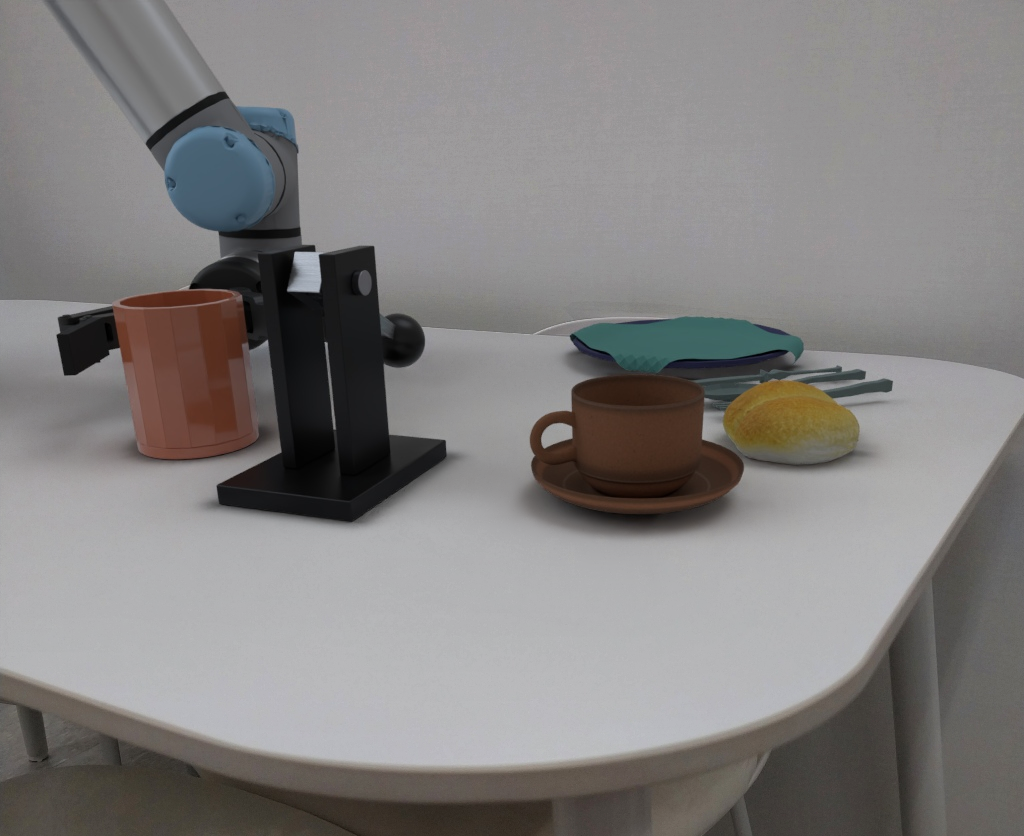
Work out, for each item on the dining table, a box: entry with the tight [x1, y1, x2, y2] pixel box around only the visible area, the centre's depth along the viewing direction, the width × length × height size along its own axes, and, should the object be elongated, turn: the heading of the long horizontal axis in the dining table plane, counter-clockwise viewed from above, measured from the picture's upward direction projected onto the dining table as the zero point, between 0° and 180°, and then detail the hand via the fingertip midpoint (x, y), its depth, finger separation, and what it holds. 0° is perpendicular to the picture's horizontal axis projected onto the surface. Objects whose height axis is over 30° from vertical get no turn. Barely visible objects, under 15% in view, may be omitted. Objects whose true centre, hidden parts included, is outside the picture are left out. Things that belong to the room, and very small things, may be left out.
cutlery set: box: [569, 315, 894, 411], centre depth 83 cm, size 20×30×2 cm, turn 16°
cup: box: [111, 289, 260, 460], centre depth 66 cm, size 8×8×10 cm
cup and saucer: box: [529, 373, 745, 515], centre depth 55 cm, size 12×12×6 cm
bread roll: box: [722, 379, 861, 465], centre depth 63 cm, size 8×9×4 cm
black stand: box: [215, 244, 448, 522], centre depth 57 cm, size 12×9×14 cm
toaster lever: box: [287, 251, 426, 369], centre depth 60 cm, size 13×4×4 cm
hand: (171, 351), depth 63 cm, fingers open, 13 cm apart
